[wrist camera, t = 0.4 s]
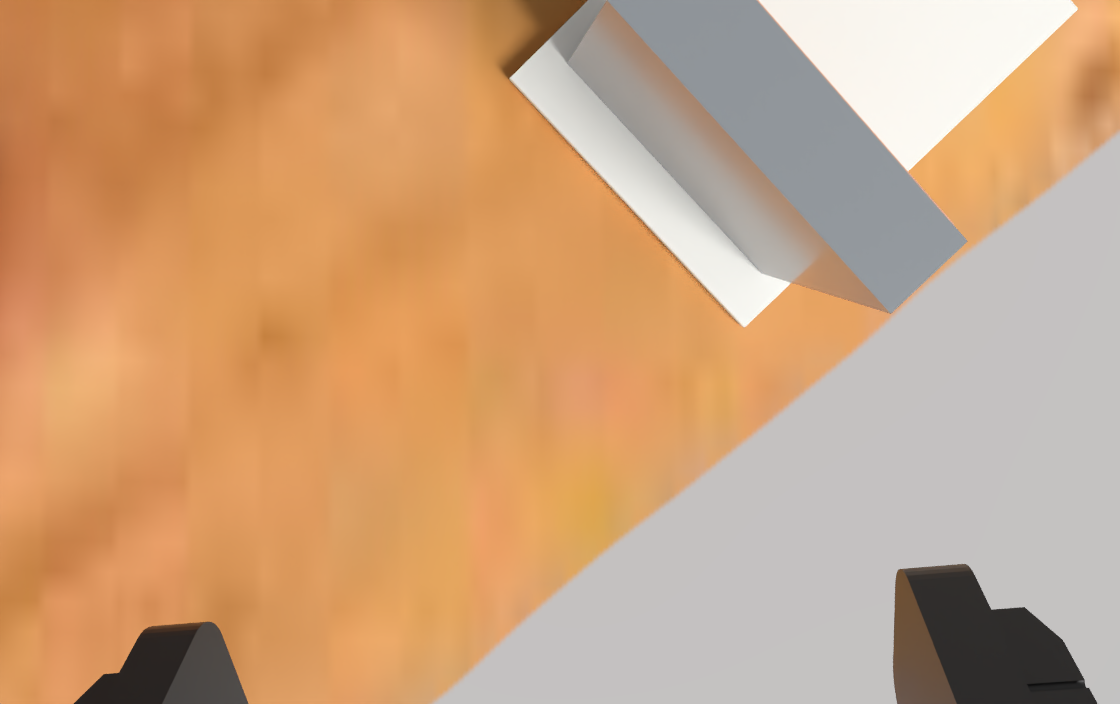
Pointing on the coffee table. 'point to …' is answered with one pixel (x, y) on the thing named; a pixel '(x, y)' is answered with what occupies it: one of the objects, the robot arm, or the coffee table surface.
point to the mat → (850, 66)
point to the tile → (766, 146)
